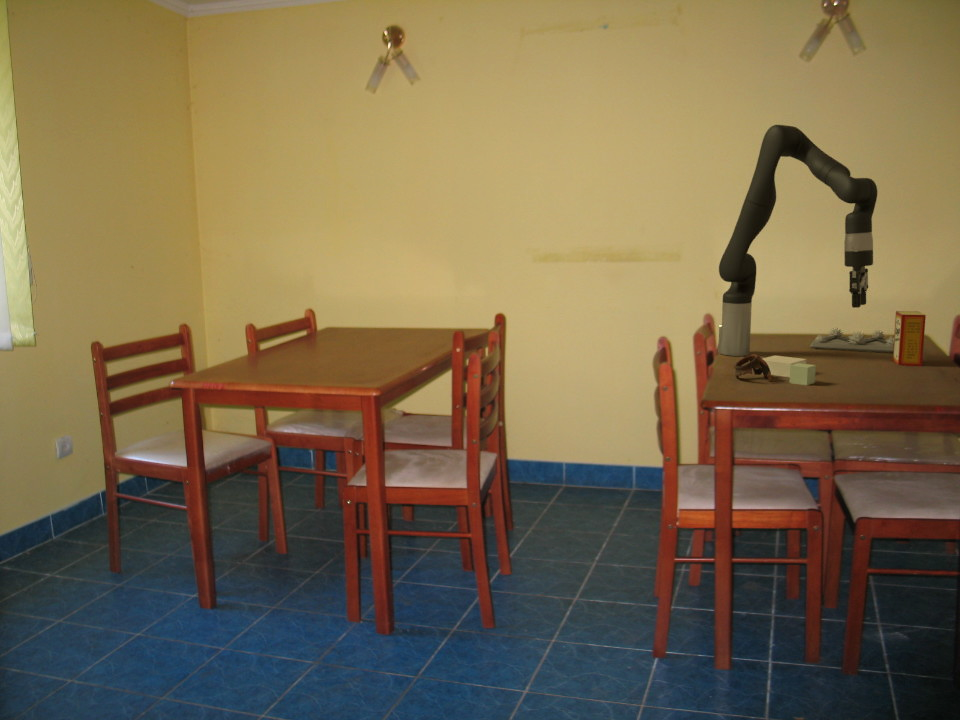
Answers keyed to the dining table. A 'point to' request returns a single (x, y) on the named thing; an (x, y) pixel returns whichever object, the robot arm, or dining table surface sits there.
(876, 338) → the decorative plate
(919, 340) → the baking soda box
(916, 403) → the dining table surface
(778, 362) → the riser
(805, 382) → the cube
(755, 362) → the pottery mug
